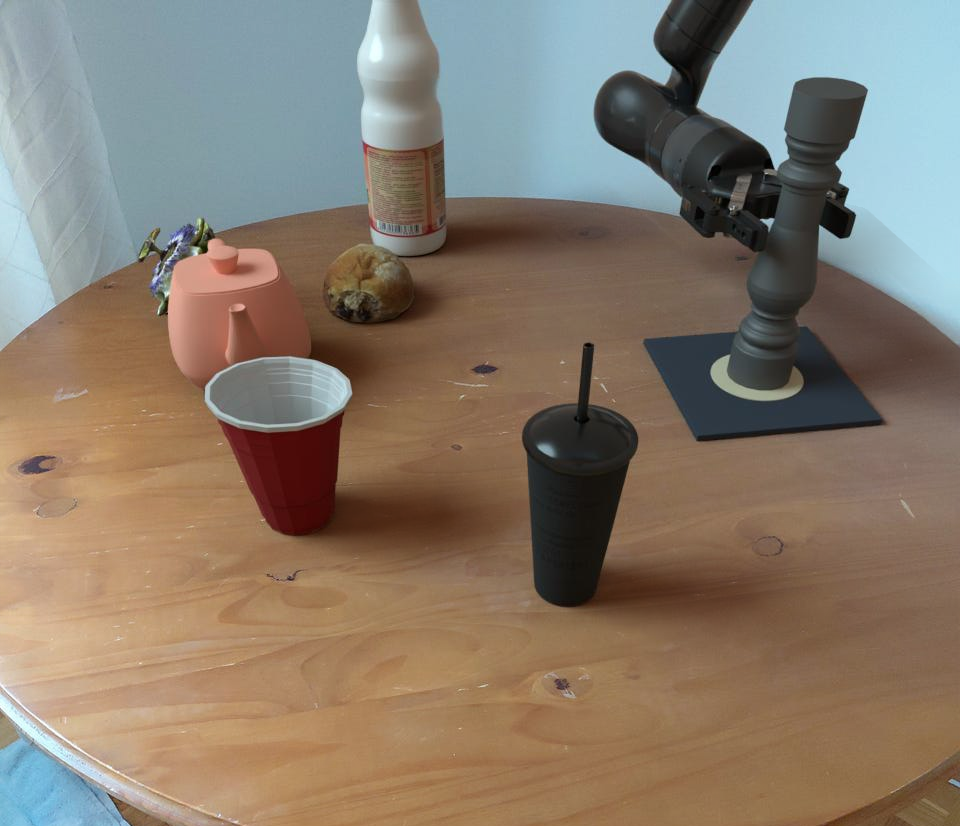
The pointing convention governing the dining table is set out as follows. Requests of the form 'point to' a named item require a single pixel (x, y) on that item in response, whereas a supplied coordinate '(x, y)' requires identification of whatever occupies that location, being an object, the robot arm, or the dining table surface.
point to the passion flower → (174, 256)
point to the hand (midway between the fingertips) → (807, 234)
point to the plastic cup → (284, 435)
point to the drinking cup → (575, 490)
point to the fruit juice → (402, 130)
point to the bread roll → (368, 285)
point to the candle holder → (794, 230)
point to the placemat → (747, 412)
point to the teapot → (232, 312)
